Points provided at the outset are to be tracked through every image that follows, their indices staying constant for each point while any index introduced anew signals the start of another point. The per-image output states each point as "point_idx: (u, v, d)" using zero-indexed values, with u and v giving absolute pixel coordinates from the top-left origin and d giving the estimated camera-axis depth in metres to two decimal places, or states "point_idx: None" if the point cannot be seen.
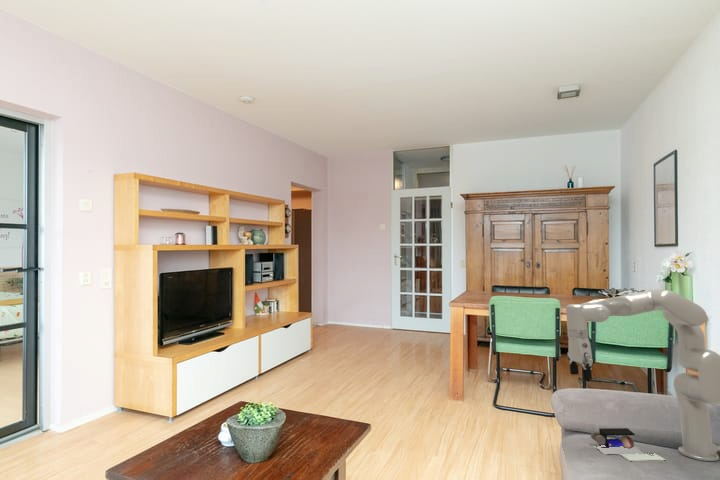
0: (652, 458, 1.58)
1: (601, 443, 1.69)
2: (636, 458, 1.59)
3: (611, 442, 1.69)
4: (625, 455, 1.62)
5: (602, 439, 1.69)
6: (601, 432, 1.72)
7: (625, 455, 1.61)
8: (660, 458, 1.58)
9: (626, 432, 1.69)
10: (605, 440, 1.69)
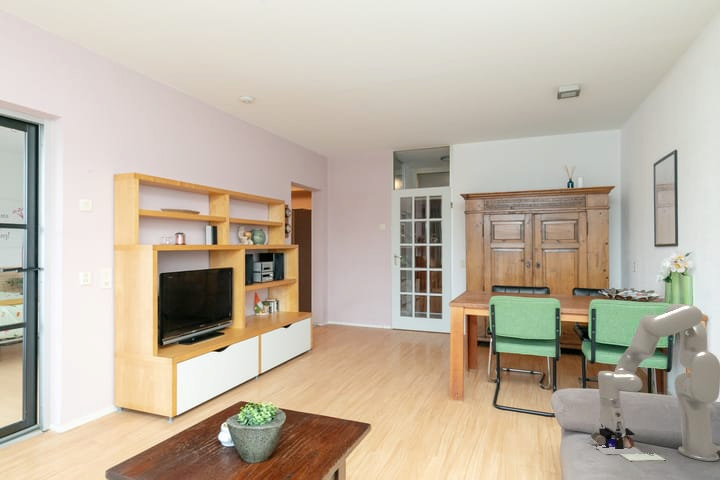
0: (652, 458, 1.58)
1: (601, 443, 1.69)
2: (636, 458, 1.59)
3: (611, 442, 1.69)
4: (625, 455, 1.62)
5: (602, 439, 1.69)
6: (601, 432, 1.72)
7: (625, 455, 1.61)
8: (660, 458, 1.58)
9: (626, 432, 1.69)
10: (605, 440, 1.68)
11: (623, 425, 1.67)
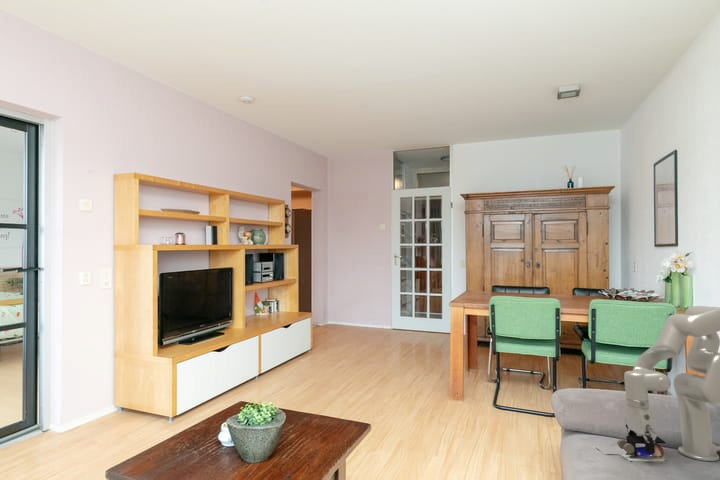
0: (652, 458, 1.58)
1: (630, 452, 1.59)
2: (636, 458, 1.59)
3: (640, 451, 1.59)
4: (625, 455, 1.62)
5: (631, 447, 1.59)
6: (629, 440, 1.62)
7: (625, 455, 1.61)
8: (660, 458, 1.58)
9: (656, 439, 1.59)
10: (634, 449, 1.58)
11: (652, 428, 1.57)
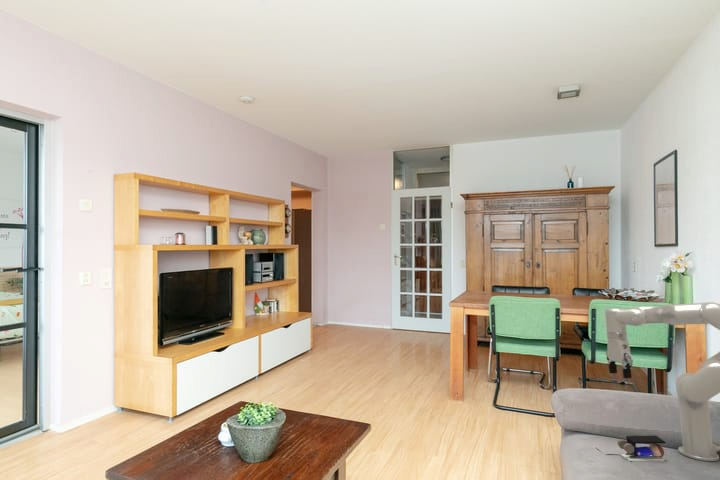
0: (652, 458, 1.58)
1: (630, 452, 1.59)
2: (636, 458, 1.59)
3: (640, 451, 1.59)
4: (625, 455, 1.62)
5: (631, 447, 1.59)
6: (629, 440, 1.62)
7: (625, 455, 1.61)
8: (660, 458, 1.58)
9: (656, 439, 1.59)
10: (634, 449, 1.58)
11: None
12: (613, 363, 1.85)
